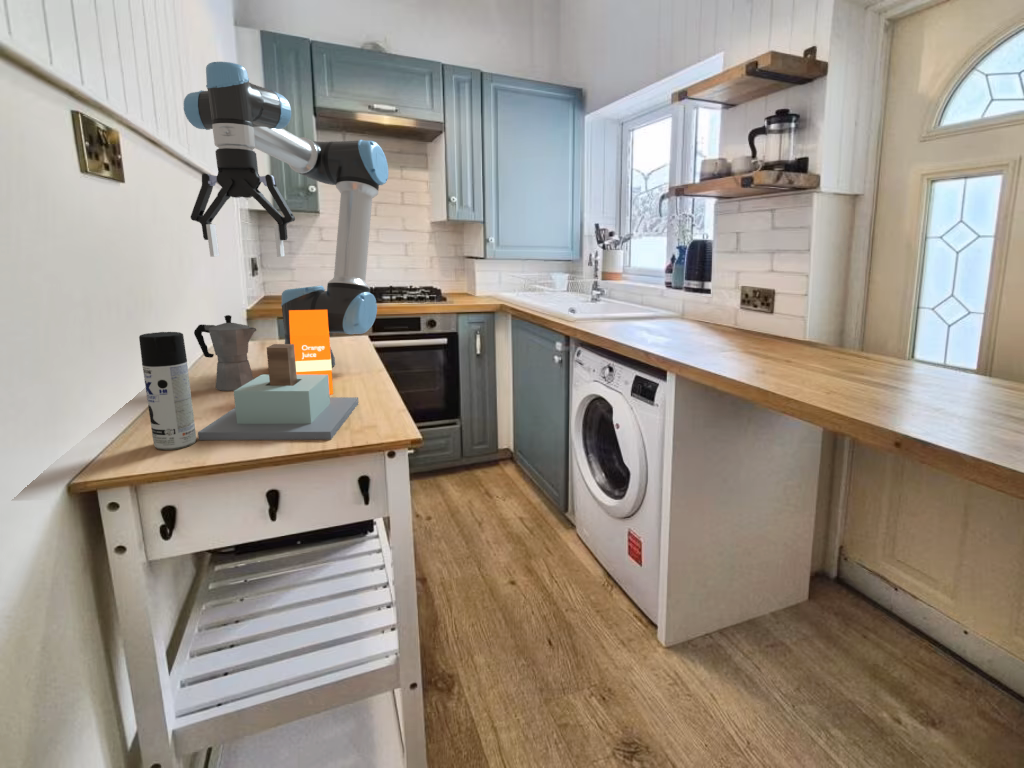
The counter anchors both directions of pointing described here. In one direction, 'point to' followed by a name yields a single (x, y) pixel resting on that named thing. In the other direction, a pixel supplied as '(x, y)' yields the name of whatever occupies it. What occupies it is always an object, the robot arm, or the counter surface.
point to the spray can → (168, 390)
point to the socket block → (282, 411)
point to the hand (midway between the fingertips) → (248, 256)
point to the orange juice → (311, 342)
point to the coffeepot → (228, 352)
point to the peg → (282, 365)
